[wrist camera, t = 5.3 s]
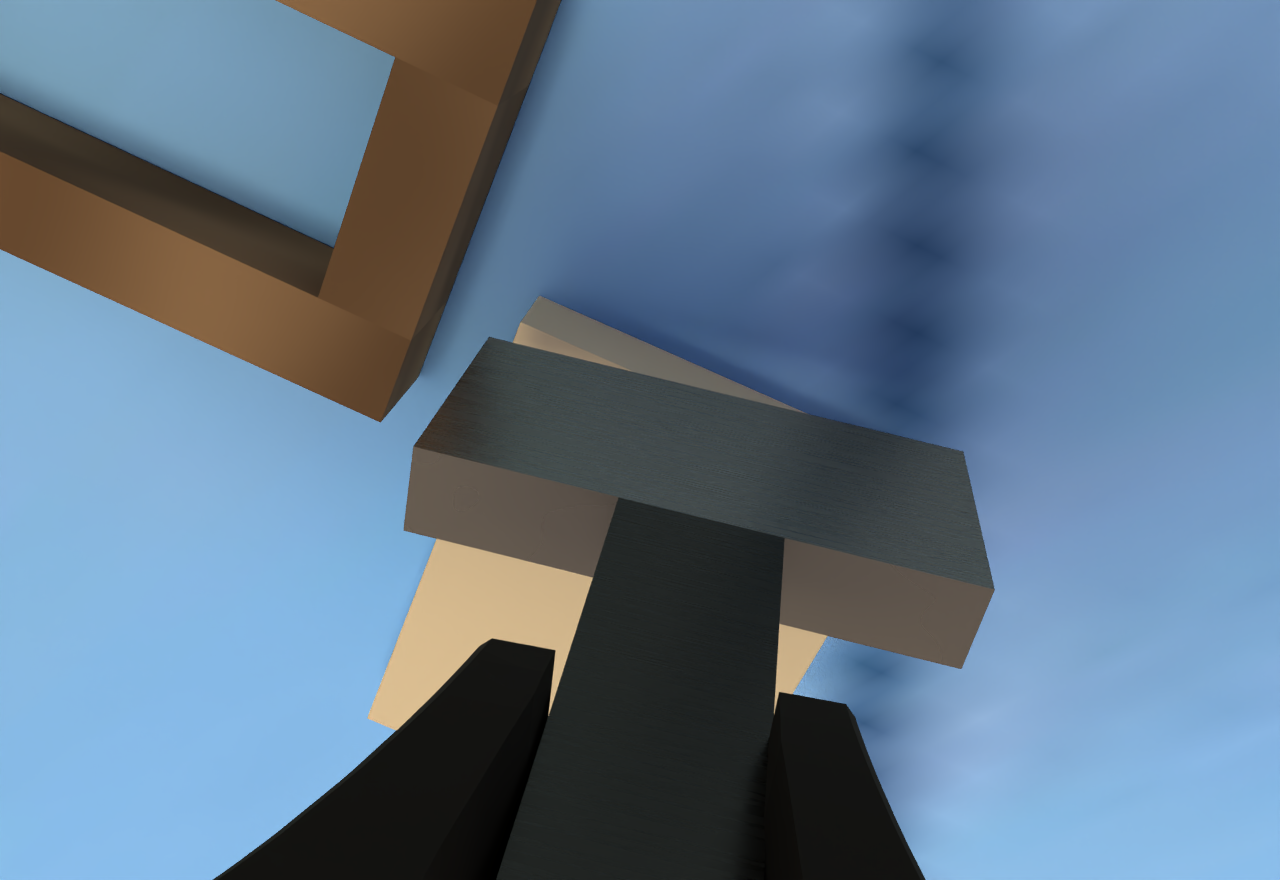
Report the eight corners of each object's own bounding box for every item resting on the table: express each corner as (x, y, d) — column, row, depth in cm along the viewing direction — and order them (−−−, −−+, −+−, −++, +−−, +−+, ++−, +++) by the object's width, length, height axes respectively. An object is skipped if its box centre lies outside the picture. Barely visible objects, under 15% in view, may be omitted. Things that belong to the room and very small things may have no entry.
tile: (912, 494, 19) (694, 855, 23) (905, 447, 21) (702, 792, 25) (520, 322, 19) (367, 718, 23) (544, 288, 20) (396, 663, 24)
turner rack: (566, -13, 18) (538, -3, 16) (417, 377, 21) (380, 422, 19) (-189, -378, 17) (-307, -410, 15) (-224, 82, 20) (-326, 100, 18)
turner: (963, 451, 17) (1103, 1067, 8) (936, 521, 17) (1042, 1164, 9) (489, 337, 17) (155, 822, 8) (478, 409, 17) (155, 929, 9)
